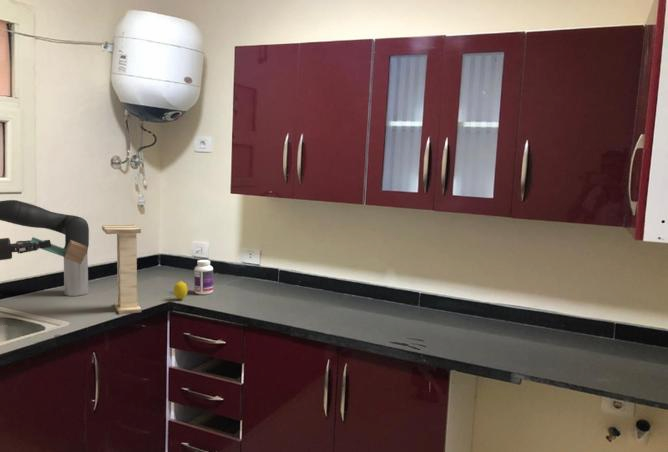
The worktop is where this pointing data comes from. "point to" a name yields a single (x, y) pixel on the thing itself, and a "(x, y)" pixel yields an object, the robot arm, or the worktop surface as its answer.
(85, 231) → the robot arm
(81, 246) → the mallet
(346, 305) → the worktop surface
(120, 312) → the stand
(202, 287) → the pill bottle
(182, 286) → the lemon
